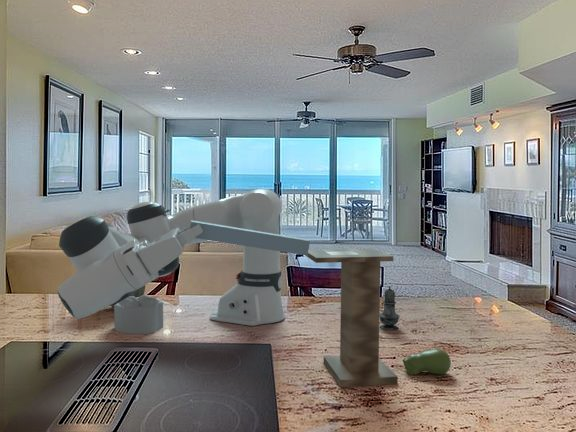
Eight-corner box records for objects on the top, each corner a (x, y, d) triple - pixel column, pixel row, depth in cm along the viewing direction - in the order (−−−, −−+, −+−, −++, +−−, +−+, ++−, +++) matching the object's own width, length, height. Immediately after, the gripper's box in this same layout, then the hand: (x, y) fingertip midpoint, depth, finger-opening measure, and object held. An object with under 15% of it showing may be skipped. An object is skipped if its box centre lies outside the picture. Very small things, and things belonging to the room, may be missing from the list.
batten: (188, 236, 97) (191, 221, 97) (188, 234, 101) (191, 220, 101) (307, 255, 102) (310, 241, 102) (303, 253, 106) (305, 238, 106)
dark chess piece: (399, 331, 139) (400, 288, 138) (378, 330, 140) (378, 287, 139) (399, 325, 144) (400, 284, 144) (378, 324, 146) (379, 283, 145)
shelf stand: (316, 389, 99) (317, 258, 98) (301, 364, 113) (302, 249, 111) (397, 383, 102) (400, 256, 101) (374, 360, 116) (375, 248, 114)
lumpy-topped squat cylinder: (150, 335, 134) (150, 303, 134) (106, 332, 137) (105, 300, 136) (167, 324, 144) (166, 294, 144) (125, 322, 147) (124, 292, 146)
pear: (451, 352, 105) (402, 358, 106) (454, 377, 105) (406, 382, 106) (446, 344, 110) (400, 349, 111) (449, 367, 110) (403, 372, 112)
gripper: (152, 267, 109) (208, 234, 110) (142, 286, 89) (210, 246, 90) (137, 242, 108) (193, 210, 109) (122, 255, 88) (192, 215, 89)
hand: (201, 226), depth 100 cm, fingers closed on batten, 4 cm apart
